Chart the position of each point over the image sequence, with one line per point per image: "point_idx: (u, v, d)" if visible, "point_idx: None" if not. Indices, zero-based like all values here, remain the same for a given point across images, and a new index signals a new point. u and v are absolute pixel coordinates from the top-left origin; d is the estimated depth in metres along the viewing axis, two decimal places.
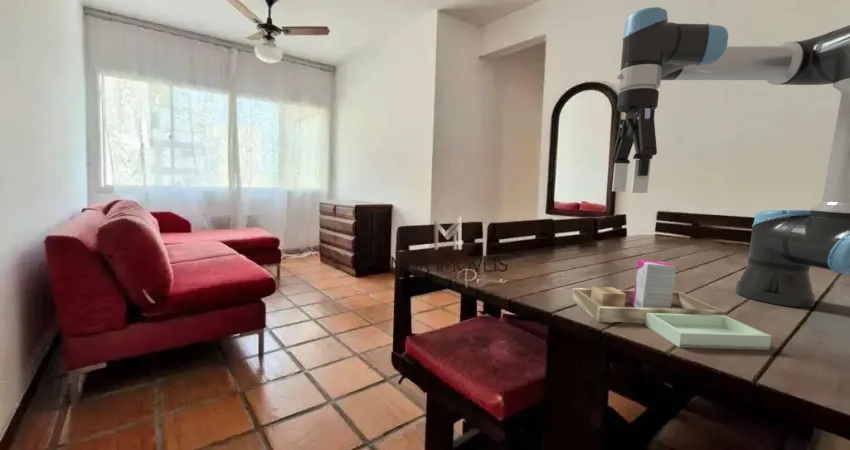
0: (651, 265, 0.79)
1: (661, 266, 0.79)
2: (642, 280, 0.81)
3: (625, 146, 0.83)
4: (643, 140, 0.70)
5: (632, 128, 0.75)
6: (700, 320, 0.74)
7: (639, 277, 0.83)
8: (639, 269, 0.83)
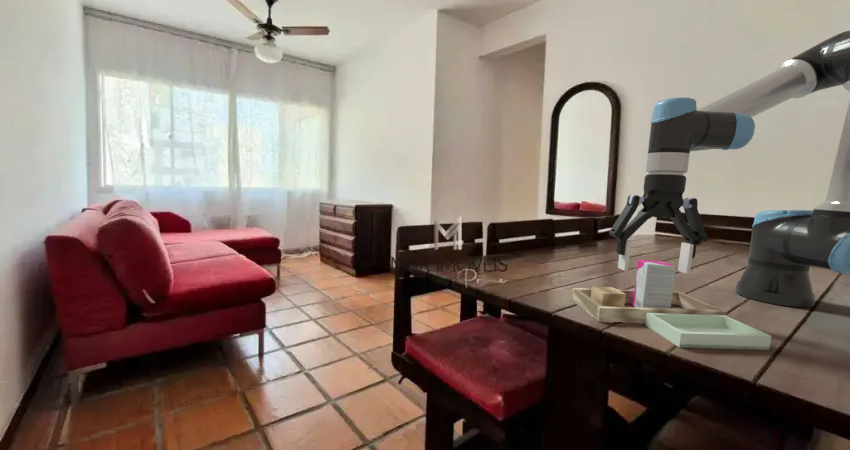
0: (651, 265, 0.79)
1: (661, 266, 0.79)
2: (642, 280, 0.81)
3: (678, 226, 0.81)
4: (615, 223, 0.81)
5: (640, 211, 0.81)
6: (700, 320, 0.74)
7: (639, 277, 0.83)
8: (639, 269, 0.83)
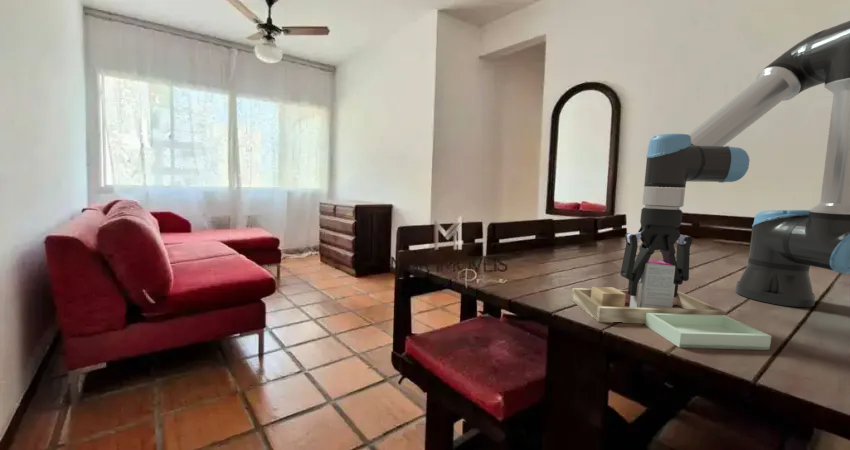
0: (651, 265, 0.79)
1: (661, 266, 0.79)
2: (642, 280, 0.81)
3: (666, 261, 0.82)
4: (622, 264, 0.82)
5: (640, 246, 0.82)
6: (700, 320, 0.74)
7: None
8: None
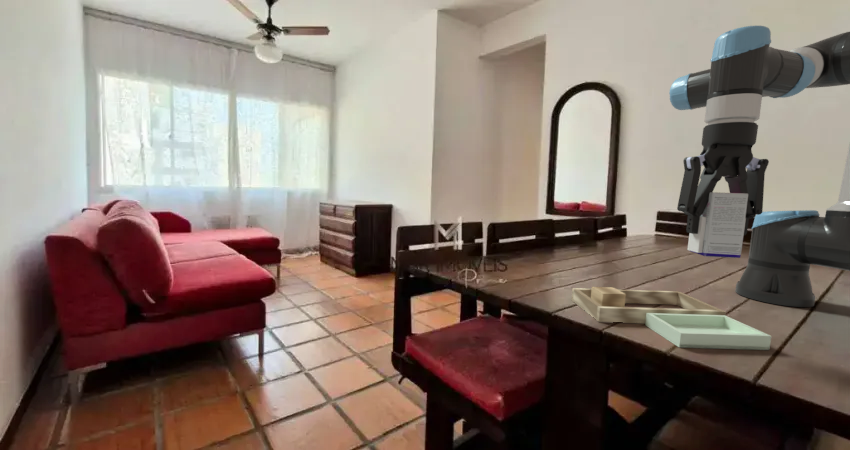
0: (717, 193, 0.64)
1: (730, 194, 0.64)
2: (704, 214, 0.66)
3: (734, 191, 0.67)
4: (680, 196, 0.68)
5: (702, 174, 0.68)
6: (700, 320, 0.74)
7: None
8: None
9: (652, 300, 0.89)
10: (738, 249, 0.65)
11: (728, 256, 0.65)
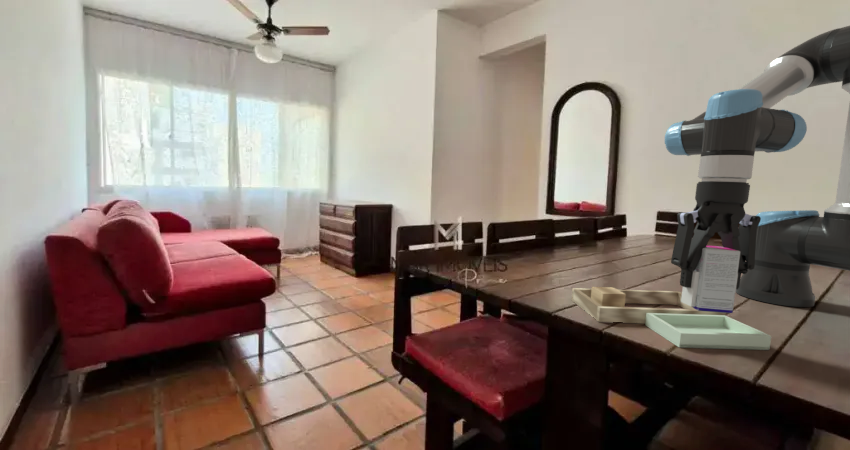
0: (710, 250, 0.66)
1: (722, 251, 0.65)
2: (698, 268, 0.68)
3: (727, 246, 0.68)
4: (674, 250, 0.69)
5: (695, 228, 0.69)
6: (700, 320, 0.74)
7: None
8: None
9: (652, 300, 0.89)
10: (730, 304, 0.66)
11: (720, 311, 0.66)
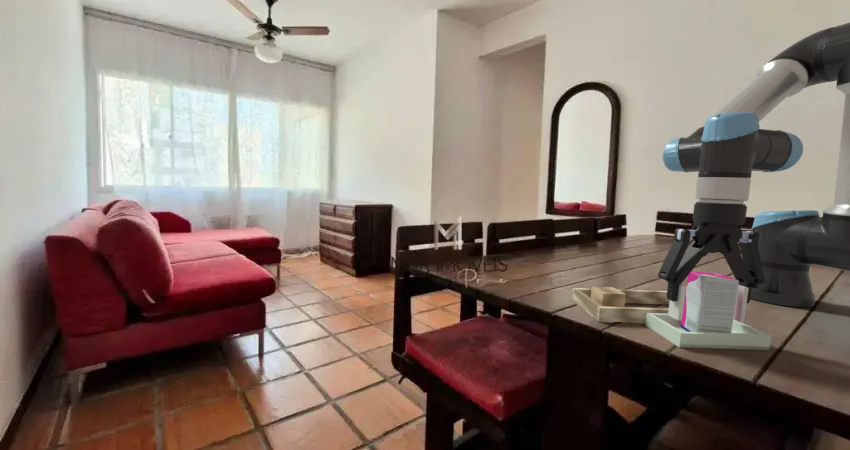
0: (709, 279, 0.66)
1: (721, 280, 0.66)
2: (696, 296, 0.68)
3: (732, 264, 0.68)
4: (663, 263, 0.69)
5: (690, 246, 0.69)
6: None
7: (691, 292, 0.70)
8: (690, 283, 0.70)
9: (652, 300, 0.89)
10: (728, 332, 0.67)
11: None
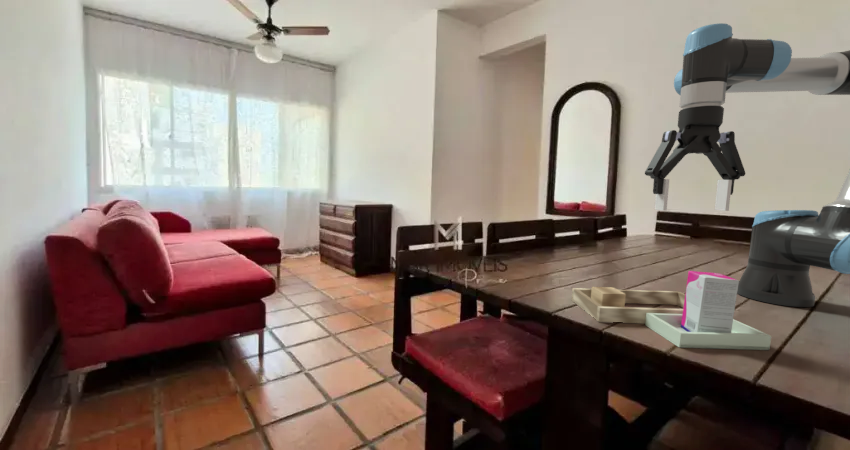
0: (709, 279, 0.66)
1: (721, 280, 0.66)
2: (696, 296, 0.68)
3: (715, 162, 0.78)
4: (650, 162, 0.78)
5: (675, 148, 0.78)
6: None
7: (691, 292, 0.70)
8: (691, 283, 0.70)
9: (652, 300, 0.89)
10: None
11: None
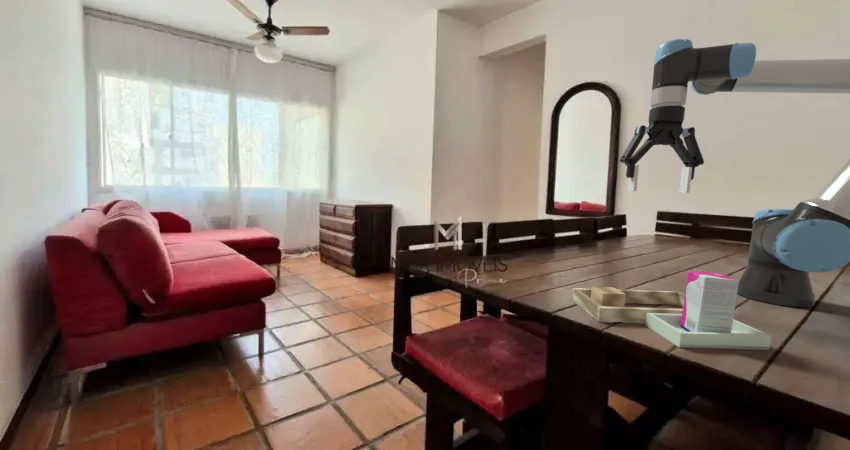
0: (709, 279, 0.66)
1: (721, 280, 0.66)
2: (696, 296, 0.68)
3: (679, 152, 0.94)
4: None
5: (646, 140, 0.95)
6: None
7: (691, 292, 0.70)
8: (690, 283, 0.70)
9: (652, 300, 0.89)
10: None
11: None
